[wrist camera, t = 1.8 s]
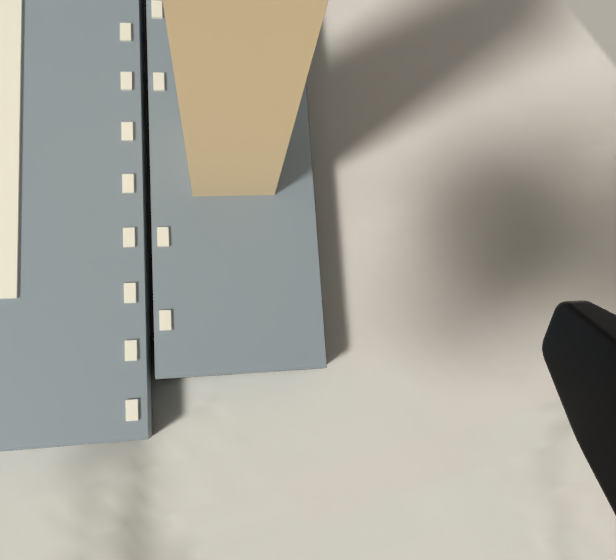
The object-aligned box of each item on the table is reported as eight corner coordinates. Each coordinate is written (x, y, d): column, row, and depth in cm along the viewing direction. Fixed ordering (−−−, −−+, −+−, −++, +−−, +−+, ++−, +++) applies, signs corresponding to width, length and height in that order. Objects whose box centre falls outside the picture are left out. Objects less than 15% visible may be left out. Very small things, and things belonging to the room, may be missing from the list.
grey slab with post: (321, 368, 22) (492, 340, 8) (158, 379, 21) (35, 369, 7) (294, -12, 24) (386, -520, 11) (148, -18, 24) (45, -581, 10)
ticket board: (152, 436, 21) (147, 439, 19) (-160, 461, 19) (-187, 467, 18) (140, -60, 24) (136, -85, 23) (-125, -72, 22) (-146, -100, 21)
